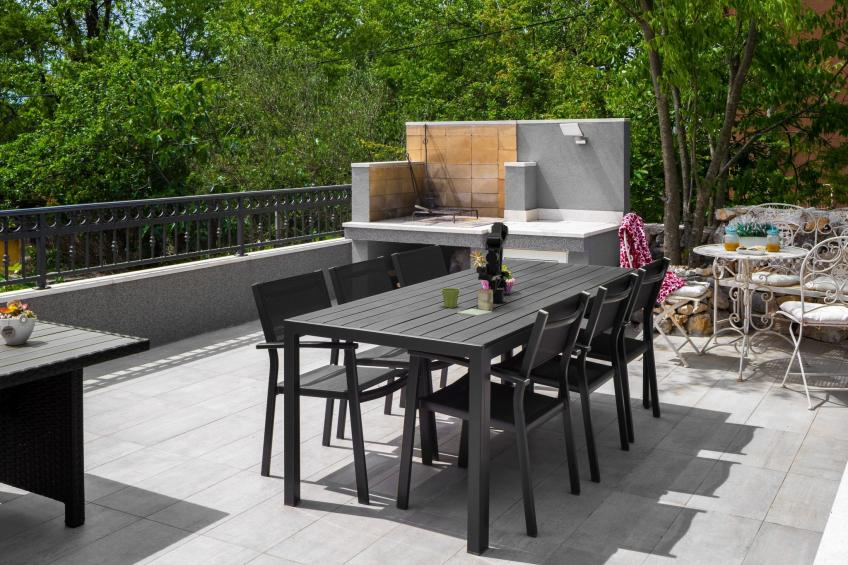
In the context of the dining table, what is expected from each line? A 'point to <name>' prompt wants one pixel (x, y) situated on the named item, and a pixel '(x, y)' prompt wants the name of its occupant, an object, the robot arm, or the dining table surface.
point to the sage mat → (474, 312)
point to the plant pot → (450, 297)
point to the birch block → (485, 299)
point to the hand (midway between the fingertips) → (493, 293)
